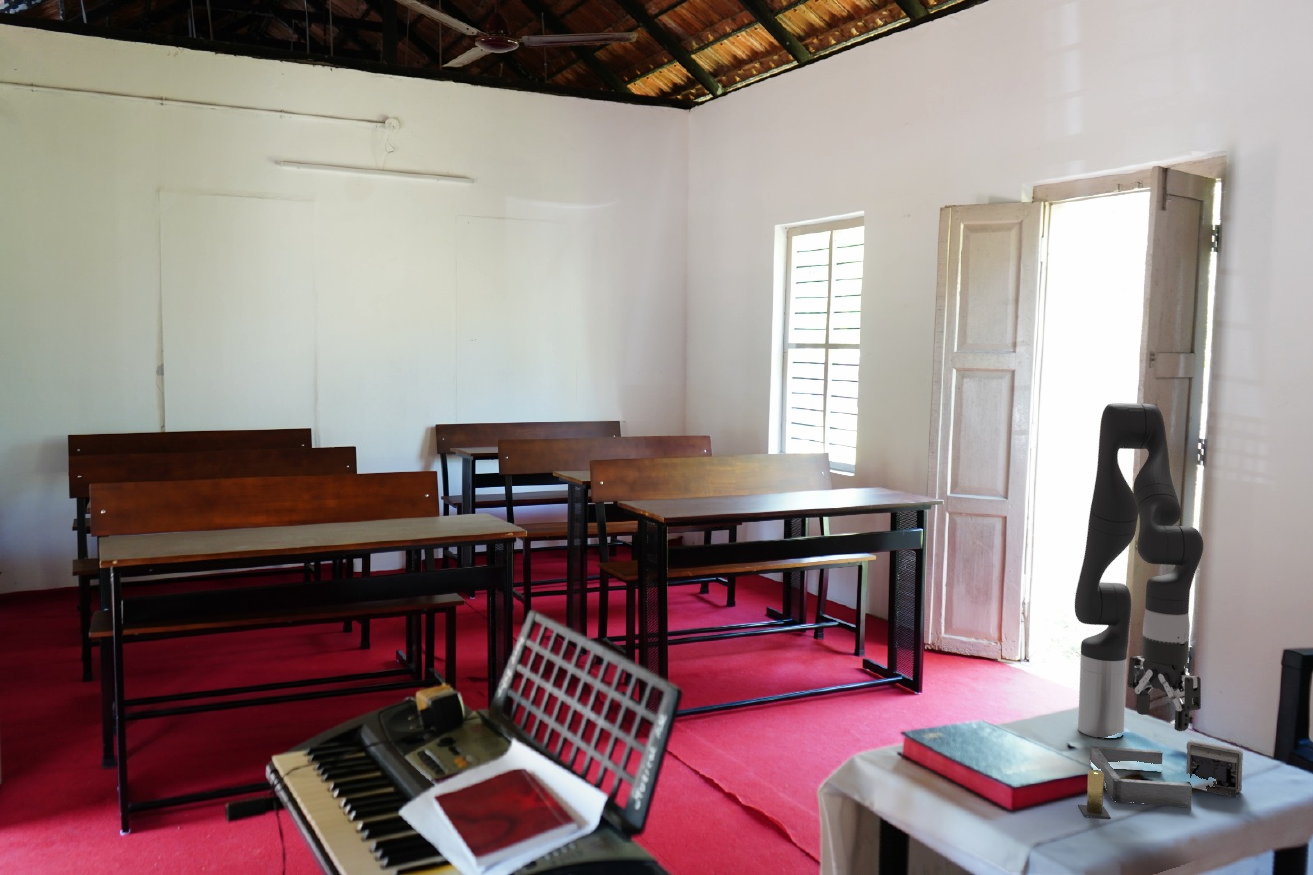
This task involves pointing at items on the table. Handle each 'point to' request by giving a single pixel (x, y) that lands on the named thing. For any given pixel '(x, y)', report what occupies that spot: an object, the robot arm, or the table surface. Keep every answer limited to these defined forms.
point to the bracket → (1138, 788)
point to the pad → (1089, 814)
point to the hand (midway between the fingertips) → (1161, 722)
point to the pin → (1095, 791)
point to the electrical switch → (1216, 766)
